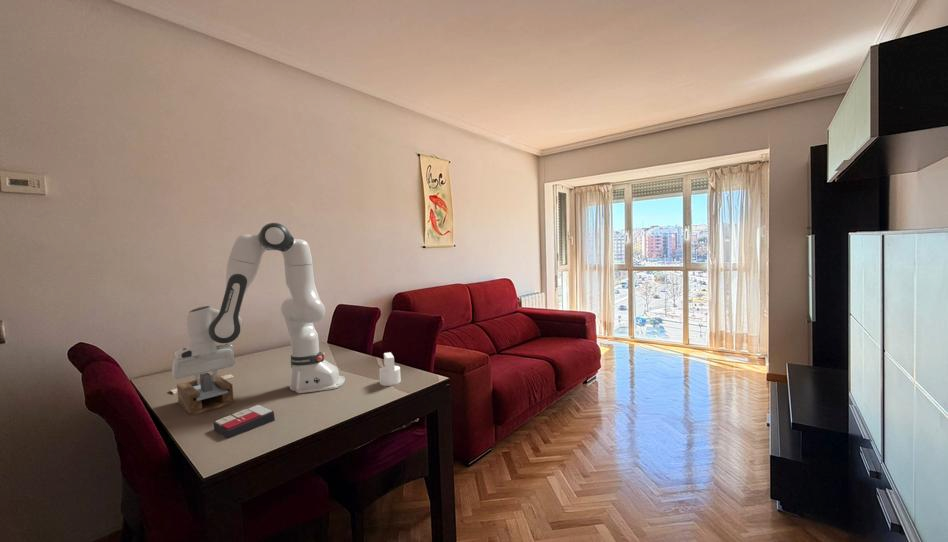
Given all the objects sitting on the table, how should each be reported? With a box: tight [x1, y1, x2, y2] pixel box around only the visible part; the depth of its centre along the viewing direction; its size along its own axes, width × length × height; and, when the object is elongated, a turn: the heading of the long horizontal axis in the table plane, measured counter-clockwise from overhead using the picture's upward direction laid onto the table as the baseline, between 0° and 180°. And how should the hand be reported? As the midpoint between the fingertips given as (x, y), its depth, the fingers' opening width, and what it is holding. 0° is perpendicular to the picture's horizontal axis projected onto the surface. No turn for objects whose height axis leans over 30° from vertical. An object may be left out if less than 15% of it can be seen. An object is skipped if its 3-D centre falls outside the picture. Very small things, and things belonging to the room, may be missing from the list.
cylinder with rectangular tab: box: [378, 351, 402, 387], centre depth 168 cm, size 9×9×12 cm
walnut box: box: [176, 374, 235, 416], centre depth 153 cm, size 14×20×8 cm
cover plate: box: [194, 372, 228, 401], centre depth 151 cm, size 10×18×7 cm, turn 47°
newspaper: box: [168, 373, 235, 395], centre depth 176 cm, size 24×7×2 cm, turn 144°
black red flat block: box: [213, 404, 276, 439], centre depth 132 cm, size 11×4×15 cm
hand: (206, 383), depth 151 cm, fingers closed on cover plate, 2 cm apart
